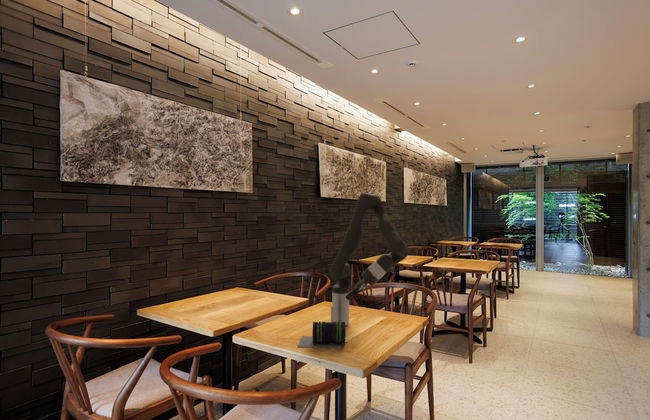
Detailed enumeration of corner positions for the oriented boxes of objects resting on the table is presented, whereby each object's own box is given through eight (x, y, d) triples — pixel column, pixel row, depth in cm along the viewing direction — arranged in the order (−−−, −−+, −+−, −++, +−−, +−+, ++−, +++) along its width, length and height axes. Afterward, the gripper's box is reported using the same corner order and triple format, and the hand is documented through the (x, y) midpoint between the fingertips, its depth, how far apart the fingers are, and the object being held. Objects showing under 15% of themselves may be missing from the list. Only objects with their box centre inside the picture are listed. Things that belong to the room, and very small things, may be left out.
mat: (297, 347, 167) (297, 346, 167) (302, 336, 181) (302, 336, 181) (341, 348, 165) (341, 348, 165) (343, 338, 179) (343, 337, 179)
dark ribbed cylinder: (344, 342, 175) (313, 342, 175) (344, 321, 178) (313, 320, 178) (345, 345, 166) (312, 344, 166) (345, 322, 168) (312, 321, 168)
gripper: (367, 265, 178) (341, 289, 179) (368, 269, 165) (340, 296, 166) (378, 276, 177) (352, 300, 179) (380, 282, 164) (352, 308, 165)
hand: (346, 298), depth 172 cm, fingers closed
